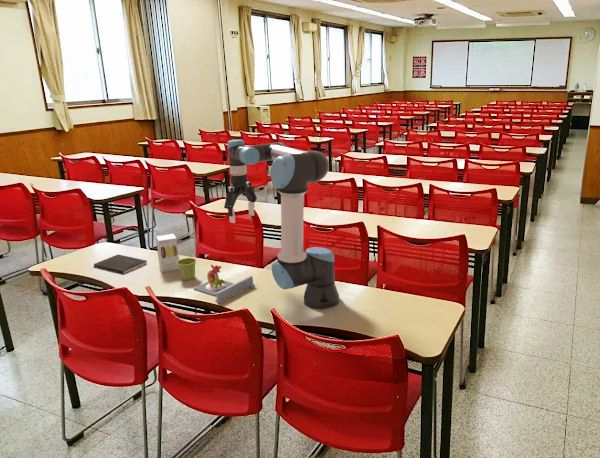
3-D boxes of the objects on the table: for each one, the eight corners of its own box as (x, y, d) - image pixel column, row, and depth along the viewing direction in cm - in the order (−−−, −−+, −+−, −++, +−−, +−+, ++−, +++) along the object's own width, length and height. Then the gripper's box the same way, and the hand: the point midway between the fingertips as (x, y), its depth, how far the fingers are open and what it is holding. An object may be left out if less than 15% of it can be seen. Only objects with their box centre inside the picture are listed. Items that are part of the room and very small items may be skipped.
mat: (236, 285, 228) (236, 284, 228) (214, 296, 217) (214, 294, 217) (215, 279, 236) (215, 277, 236) (193, 289, 226) (193, 288, 225)
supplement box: (161, 272, 247) (157, 240, 242) (159, 266, 256) (154, 236, 251) (180, 268, 251) (177, 237, 246) (177, 263, 259) (173, 233, 254)
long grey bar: (255, 285, 226) (254, 276, 225) (221, 303, 210) (220, 294, 208) (249, 284, 229) (248, 275, 227) (214, 301, 212) (213, 292, 211)
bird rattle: (207, 292, 226) (219, 288, 220) (198, 269, 225) (210, 265, 220) (216, 287, 231) (228, 283, 225) (207, 265, 230) (220, 261, 224)
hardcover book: (118, 258, 272) (118, 254, 271) (147, 264, 261) (147, 260, 260) (94, 268, 259) (93, 264, 258) (123, 275, 248) (122, 271, 247)
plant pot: (175, 281, 236) (172, 264, 233) (184, 273, 245) (182, 257, 242) (192, 282, 234) (190, 265, 231) (201, 274, 242) (199, 258, 240)
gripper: (250, 169, 235) (253, 211, 241) (213, 178, 216) (218, 224, 222) (262, 169, 231) (265, 213, 237) (225, 179, 211) (230, 226, 218)
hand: (242, 218), depth 229 cm, fingers open, 13 cm apart
